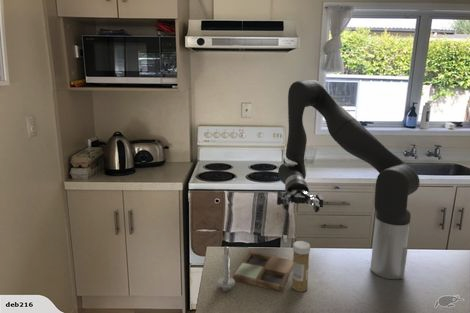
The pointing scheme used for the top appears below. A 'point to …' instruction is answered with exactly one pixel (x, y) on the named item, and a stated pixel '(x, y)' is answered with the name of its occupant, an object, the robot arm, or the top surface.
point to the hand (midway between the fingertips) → (302, 208)
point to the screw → (226, 272)
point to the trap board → (264, 271)
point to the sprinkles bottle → (300, 265)
